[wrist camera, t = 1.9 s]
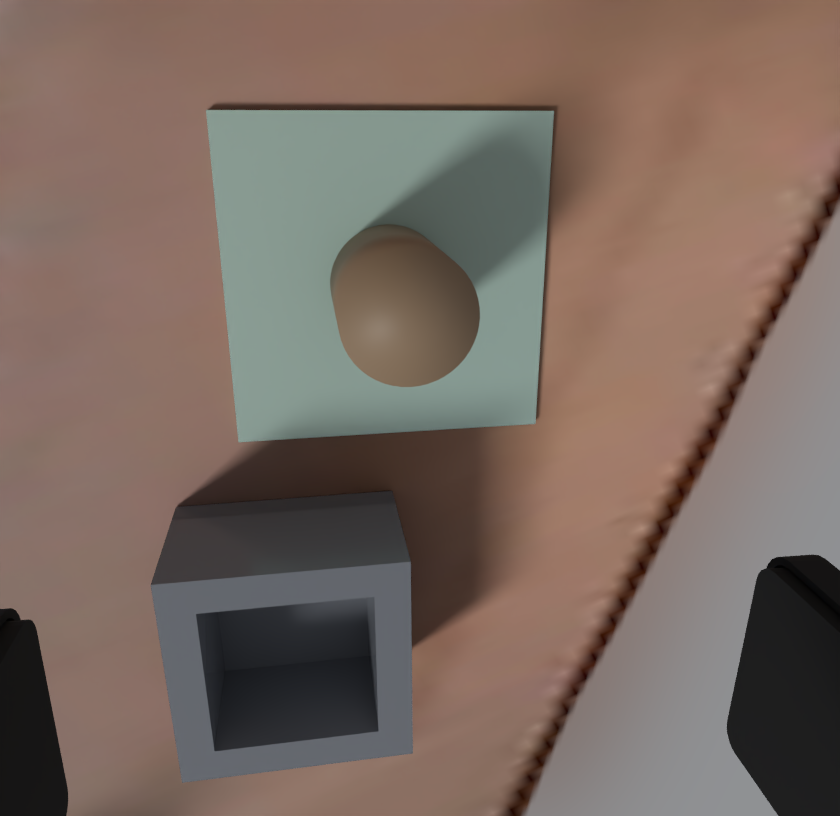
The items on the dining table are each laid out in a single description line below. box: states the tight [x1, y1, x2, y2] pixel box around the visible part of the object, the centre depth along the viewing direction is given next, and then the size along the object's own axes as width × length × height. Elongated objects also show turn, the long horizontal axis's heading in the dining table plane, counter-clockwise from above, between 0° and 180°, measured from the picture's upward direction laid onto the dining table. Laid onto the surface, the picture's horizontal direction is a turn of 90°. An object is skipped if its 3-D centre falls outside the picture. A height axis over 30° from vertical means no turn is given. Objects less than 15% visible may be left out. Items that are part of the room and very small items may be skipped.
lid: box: [206, 110, 554, 442], centre depth 23 cm, size 11×11×6 cm
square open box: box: [151, 491, 413, 783], centre depth 27 cm, size 8×8×5 cm
